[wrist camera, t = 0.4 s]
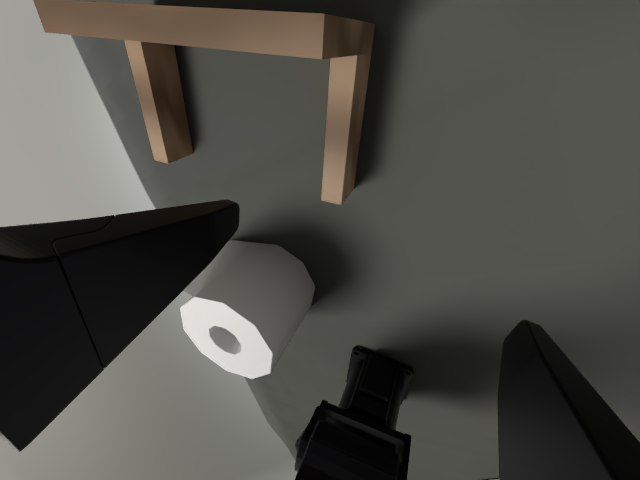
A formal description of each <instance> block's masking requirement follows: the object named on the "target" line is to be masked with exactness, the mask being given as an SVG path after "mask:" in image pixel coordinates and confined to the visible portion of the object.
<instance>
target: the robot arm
mask: <svg viewBox="0 0 640 480" xmlns="http://www.w3.org/2000/svg"><path fill="white" fill-rule="evenodd" d="M238 226H239V205H238V204H237V203H235V202H233V201H230V200H220V201H213V202H205V203H198V204H191V205H184V206H177V207H169V208H162V209H155V210H148V211H141V212H134V213H126V214H119V215H116V216H114V215H112V216H105V217H98V218H90V219H82V220H72V221H62V222H53V223H40V224H29V225H19V226H8V227H0V438H1V439H3V440H4V441H5V442H7V443H8V444H9V445H11V446H12V447H14V448H15V449H16V450H18V451H19V452H20V451H21V450H23V449H24V448H25V447H26V446H27V445H28V444H29V443H31V442H32V441H33V440H34V439H35V438H36V437H37V435H39V434H40V433H41V431H43V430H44V429H45V428H46V427H47V426H48V425H49V424H50V423H51V422H52V421H53V420H54V419H55V418H56V417H57V416H58V415H59V414H60V413H61V412H62V411H63V410H64V409H65V408H66V407H67V406H68V405H69V404H70V403H71V402H72V401H73V400H74V399H75V398H76V397H77V396H78V395H79V394H80V392H82V391H83V390H84V389H85V388H86V387H87V386H88V385H89V384H90V383H91V382H92V381H93V380H94V379H95V378H96V377H97V376H98V375H99V374H100V373H101V372H102V371H103V370H104V369H103V368H105V367H107V366H108V365H109V364H110V363H111V362H112V361H113V360H114V359H115V358H116V357H117V356H118V355H119V354H120V353H121V352H122V351H123V350H124V349H125V348H126V347H127V346H128V345H129V344H130V343H131V342H132V341H133V340H134V339H135V338H136V337H137V336H138V335H139V334H140V333H141V332H142V331H143V330H144V329H145V328H146V327H147V326H148V325H149V324H150V323H151V322H152V321H153V320H154V319H155V318H156V317H157V316H158V315H159V314H160V313H161V312H162V311H163V310H164V309H165V308H166V307H167V306H168V305H169V304H170V303H171V302H172V301H173V300H174V299H175V298H176V297H177V296H178V295H179V294H180V293H181V292H182V291H183V290H184V289H185V288H186V287H187V286H188V285H189V284H190V283H191V282H192V281H193V280H194V279H195V278H196V277H197V276H198V275H199V274H200V273H201V272H202V271H203V270H204V269H205V268H206V267H207V266H208V265H209V264H210V263H211V262H212V261H213V259H214V258H215V257H216V256H217V255H218V253H219V252H220V251H221V250H222V248H223V247H224V246H225V245H226V243H227V242H228V241H229V240H230V238H231V237H232V236H233V235H234V233H235V232H236V231H237V229H238ZM413 372H414V371H413V369H412V368H410V367H408V366H405V365H403V364H400V363H397V362H395V361H392V360H389V359H387V358H384V357H381V356H379V355H376V354H373V353H371V352H368V351H365V350H363V349H360V348H357V347H354V348H353V350H352V353H351V359H350V364H349V370H348V375H347V380H346V382H347V384H346V387H345V390H344V393H343V396H342V398H341V401H340V404H339V407H337V406H335V405H332V404H330V403H328V401H325V400H322V402H321V404H320V406H318V407H316V409H315V412H314V414H313V416H312V418H311V420H310V422H309V424H308V426H307V427H306V429H305V430H304V431H303V433H302V434H301V436H300V437H299V438H298V440H297V442H296V444H295V448H296V451H297V456H296V463H295V471H297V472H298V473H297V475H296V478H295V480H407V472H408V463H409V454H410V444H411V435H408V434H406V433H405V434H403V433H401V432H398V431H396V430H395V429H396V423H397V418H398V413H399V408H400V405H401V404H402V402H403V399H404V397H405V394H406V391H407V389H408V386H409V384H410V381H411V379H412V376H413ZM498 440H499V480H640V442H639V441H638V440H637V439H636V437H635V436H634V435H633V434H632V433H631V432H630V430H629V429H628V428H627V427H626V426H625V425H624V423H623V422H622V421H621V420H620V419H619V417H618V416H617V415H616V414H615V413H614V412H613V410H612V409H611V408H610V407H609V406H608V405H607V403H606V402H605V401H604V400H603V399H602V397H601V396H600V395H599V394H598V393H597V392H596V390H595V389H594V388H593V387H592V386H591V385H590V383H589V382H588V381H587V380H586V379H585V377H584V376H583V375H582V374H581V373H580V372H579V370H578V369H577V368H576V367H575V366H574V365H573V363H572V362H571V361H570V360H569V359H568V357H567V356H566V355H565V354H564V353H563V352H562V350H561V349H560V348H559V347H558V346H557V345H556V343H555V342H554V341H553V340H552V339H551V338H550V336H549V335H548V334H547V333H546V332H545V330H544V329H543V328H542V327H541V326H540V325H537V324H535V323H532V322H530V321H527V320H522V321H520V322H519V323H518V324H517V325H516V327H515V328H514V329H513V330H512V331H511V332H510V333H509V335H508V336H507V337H506V338H505V340H504V343H503V349H502V358H501V367H500V376H499V386H498Z"/></svg>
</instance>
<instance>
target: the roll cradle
mask: <svg viewBox="0 0 640 480" xmlns="http://www.w3.org/2000/svg"><path fill="white" fill-rule="evenodd" d="M34 3H35V6H36V9H37V11H38V14H39V17H40V19H41V22H42V25H43V27H44V30H45V32H48V33H59V34H68V35H78V36H89V37H99V38H109V39H120V40H124V41H125V45H126V49H127V53H128V57H129V60H130V64H131V68H132V72H133V76H134V80H135V84H136V88H137V92H138V96H139V100H140V104H141V108H142V112H143V116H144V120H145V124H146V128H147V132H148V136H149V140H150V144H151V148H152V152H153V156H154V160H156V161H160V162H164V163H171V162H173V161H176V160H178V159H181V158H183V157H186V156H188V155H191V154H193V149H192V144H191V138H190V132H189V127H188V121H187V115H186V110H185V104H184V99H183V93H182V87H181V82H180V76H179V70H178V65H177V59H176V53H175V48H174V45H181V46H191V47H202V48H212V49H222V50H233V51H243V52H253V53H263V54H274V55H284V56H294V57H305V58H315V59H328V58H331V62H330V77H329V92H328V107H327V122H326V137H325V152H324V167H323V182H322V197H321V200H323V201H327V202H331V203H335V204H339V205H341V204H342V203H343V202H344V201H345V199H346V198H347V197H348V196H349V194H350V193H351V192H352V191H353V189H354V184H355V176H356V168H357V160H358V153H359V145H360V137H361V130H362V122H363V114H364V107H365V99H366V91H367V84H368V76H369V68H370V60H371V53H372V45H373V37H374V30H375V24H374V23H369V22H364V21H359V20H354V19H349V18H344V17H339V16H334V15H329V14H321V13H302V12H282V11H263V10H243V9H223V8H204V7H184V6H165V5H145V4H125V3H106V2H86V1H67V0H34Z"/></svg>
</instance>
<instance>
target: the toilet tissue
mask: <svg viewBox="0 0 640 480" xmlns="http://www.w3.org/2000/svg"><path fill="white" fill-rule="evenodd" d="M314 290H315V285H314V283H313V281H312V279H311V277H310V275H309V273H308V271H307V269H306V267H305V266H304V264H303V262H302V261H300V260H299V259H297V258H296V257H295V256H293V255H292V254H290V253H289V252H287V251H286V250H285V249H283V248H282V247H280V246H279V245H273V244H264V243H254V242H245V241H236V240H230V241H228V242H227V243H226V245H225V246H224V247H223V248H222V250H221V251H220V252H219V253H218V255H217V256H216V257H215V258H214V259H213V261H212V262H211V263H210V264H209V265H208V266H207V267H206V268H205V269H204V270H203V271H202V272H201V273H200V274H199V275H198V276H197V277H196V278H195V279H194V280H193V281H192V282H191V283H190V284H189V285H188V286H187V287H186V288H185V289H184V290H183V291H185V292H187V293H189V294H190V295H192V296H193V297H192V298H190V299H189V300H188V301H187V302H186V303H185V304H184V305H183V306H182V307H181V308H180V310H181V316H182V322H183V328H184V330H185V332H186V333H187V334H188V336H189V337H190V338H191V340H192V341H193V342H194V344H195V345H196V346H197V348H198V349H199V350H200V352H201V353H203V354H204V355H205V356H207V357H208V358H209V359H211V360H212V361H214V362H215V363H216V364H218V365H219V366H220V367H222V368H223V369H225V370H226V371H229V372H232V373H235V374H238V375H241V376H244V377H247V378H251V379H253V378H257V377H260V376H263V375H266V374H270V373H271V371H272V370H273V368H274V366H275V365H276V363H277V361H278V360H279V358H280V356H281V355H282V353H283V351H284V350H285V348H286V346H287V345H288V343H289V342H290V340H291V338H292V337H293V335H294V333H295V332H296V330H297V328H298V327H299V325H300V323H301V322H302V320H303V318H304V317H305V315H306V314H307V312H308V310H309V309H310V307H311V304H312V300H313V295H314Z"/></svg>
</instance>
